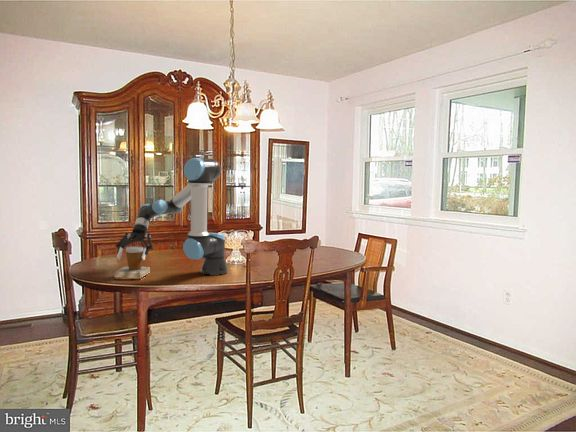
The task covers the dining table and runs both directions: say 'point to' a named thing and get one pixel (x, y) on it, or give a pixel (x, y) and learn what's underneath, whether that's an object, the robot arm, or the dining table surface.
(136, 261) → the disposable coffee cup
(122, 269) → the birch base block
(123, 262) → the dining table surface
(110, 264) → the dining table surface
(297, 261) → the dining table surface
